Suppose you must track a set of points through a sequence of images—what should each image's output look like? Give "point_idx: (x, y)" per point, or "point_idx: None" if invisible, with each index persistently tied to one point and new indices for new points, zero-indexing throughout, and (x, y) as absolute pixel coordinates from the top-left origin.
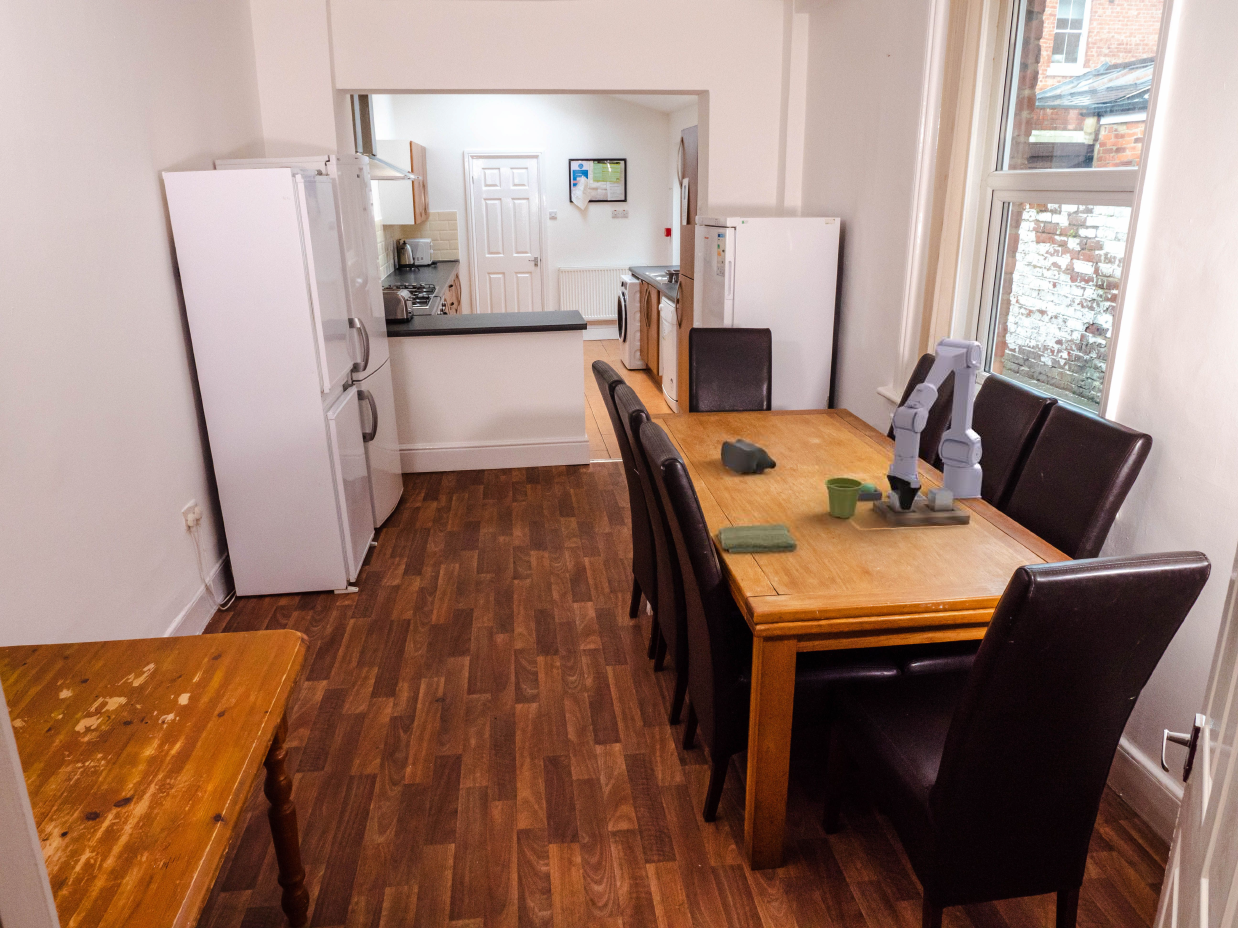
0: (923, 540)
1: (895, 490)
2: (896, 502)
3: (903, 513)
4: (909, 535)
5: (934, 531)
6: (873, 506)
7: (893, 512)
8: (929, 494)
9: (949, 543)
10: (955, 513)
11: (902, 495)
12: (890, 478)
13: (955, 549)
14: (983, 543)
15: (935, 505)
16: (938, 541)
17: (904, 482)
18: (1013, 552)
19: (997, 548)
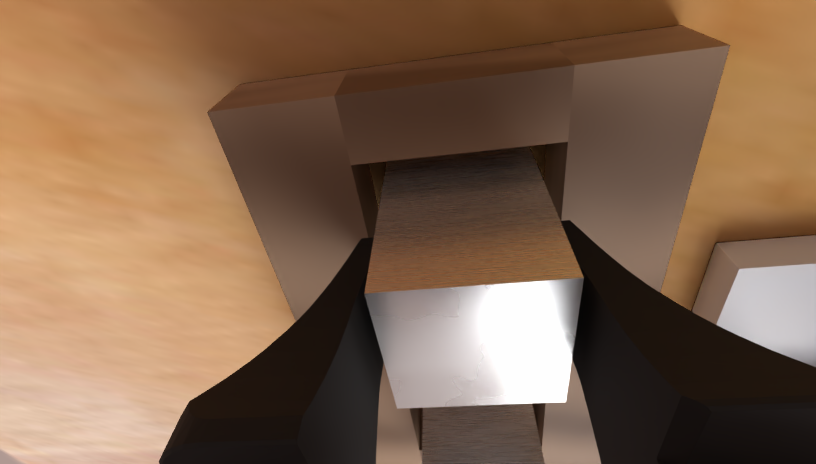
0: (66, 223)
1: (544, 313)
2: (379, 234)
3: (358, 229)
4: (120, 169)
5: (242, 304)
6: (676, 37)
7: (427, 168)
8: (526, 458)
9: (86, 318)
10: (382, 441)
11: (283, 334)
12: (675, 408)
13: (13, 319)
14: (150, 412)
15: (423, 419)
16: (90, 285)
17: (610, 455)
18: (97, 451)
19: (114, 429)
